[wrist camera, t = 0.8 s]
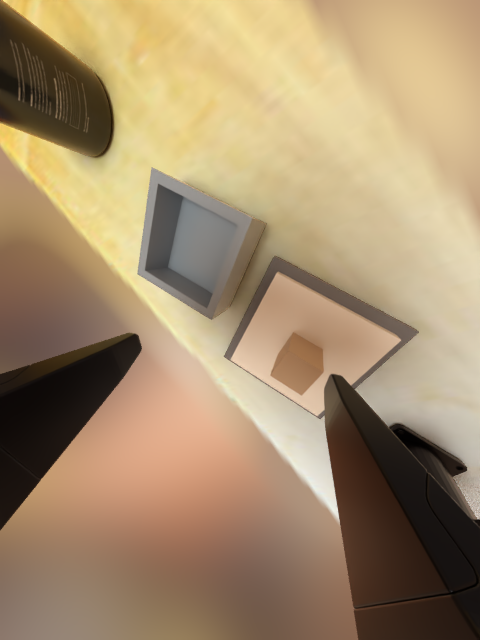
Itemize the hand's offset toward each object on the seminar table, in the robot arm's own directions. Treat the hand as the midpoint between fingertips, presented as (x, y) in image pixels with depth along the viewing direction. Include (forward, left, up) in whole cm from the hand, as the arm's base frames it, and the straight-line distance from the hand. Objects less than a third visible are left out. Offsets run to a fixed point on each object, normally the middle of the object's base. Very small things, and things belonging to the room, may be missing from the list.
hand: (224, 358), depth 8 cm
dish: (+8, -1, -11) cm, 14 cm away
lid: (-5, +3, -11) cm, 12 cm away
